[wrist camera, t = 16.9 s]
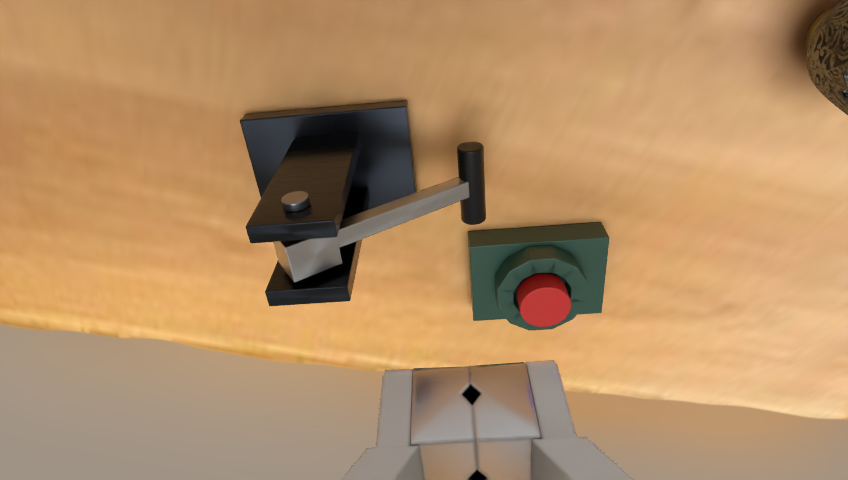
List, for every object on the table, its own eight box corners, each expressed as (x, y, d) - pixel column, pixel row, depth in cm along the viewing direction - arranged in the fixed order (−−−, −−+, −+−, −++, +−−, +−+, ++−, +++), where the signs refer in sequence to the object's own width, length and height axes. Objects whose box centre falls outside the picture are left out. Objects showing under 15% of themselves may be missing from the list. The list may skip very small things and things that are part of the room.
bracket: (407, 99, 37) (398, 187, 26) (418, 205, 41) (414, 319, 30) (244, 113, 37) (169, 204, 26) (272, 216, 42) (217, 331, 31)
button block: (471, 303, 46) (475, 336, 42) (467, 231, 42) (471, 261, 39) (594, 295, 45) (607, 328, 42) (601, 221, 42) (616, 251, 38)
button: (516, 313, 42) (519, 328, 40) (516, 274, 40) (520, 289, 38) (564, 310, 41) (570, 325, 40) (567, 271, 40) (572, 285, 38)
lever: (468, 137, 34) (493, 148, 32) (472, 208, 37) (494, 222, 35) (263, 206, 29) (278, 223, 27) (284, 283, 31) (299, 304, 30)
